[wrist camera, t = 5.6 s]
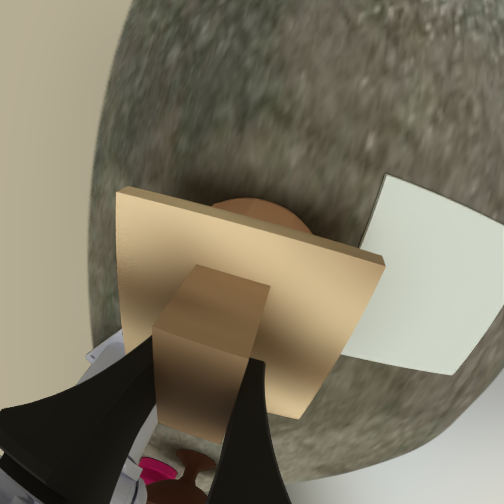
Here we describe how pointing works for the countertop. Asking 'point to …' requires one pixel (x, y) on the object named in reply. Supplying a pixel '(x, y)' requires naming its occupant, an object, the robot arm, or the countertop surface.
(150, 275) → the lid
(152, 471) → the pepper mill
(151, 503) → the ice cream bowl
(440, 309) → the mat
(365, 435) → the countertop surface
